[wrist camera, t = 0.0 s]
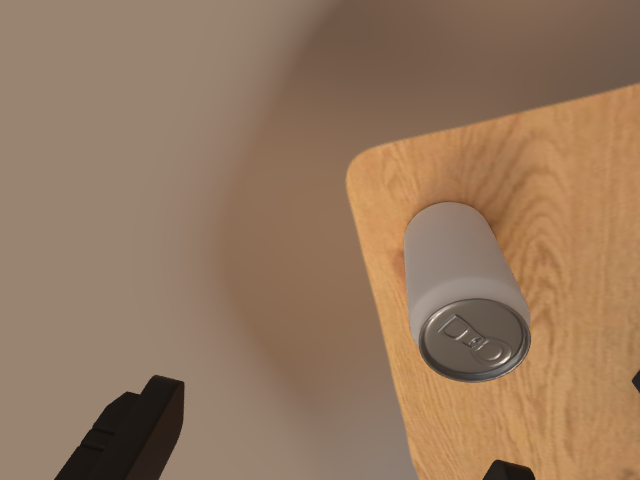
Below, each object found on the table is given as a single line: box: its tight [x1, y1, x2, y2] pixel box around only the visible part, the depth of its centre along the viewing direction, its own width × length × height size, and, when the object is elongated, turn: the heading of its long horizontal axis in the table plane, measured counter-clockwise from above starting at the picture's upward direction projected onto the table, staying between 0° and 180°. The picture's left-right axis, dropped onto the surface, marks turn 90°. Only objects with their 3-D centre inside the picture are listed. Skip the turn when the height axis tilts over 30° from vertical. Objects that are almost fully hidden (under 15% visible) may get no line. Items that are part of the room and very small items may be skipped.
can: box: [404, 202, 531, 383], centre depth 28 cm, size 6×6×12 cm
